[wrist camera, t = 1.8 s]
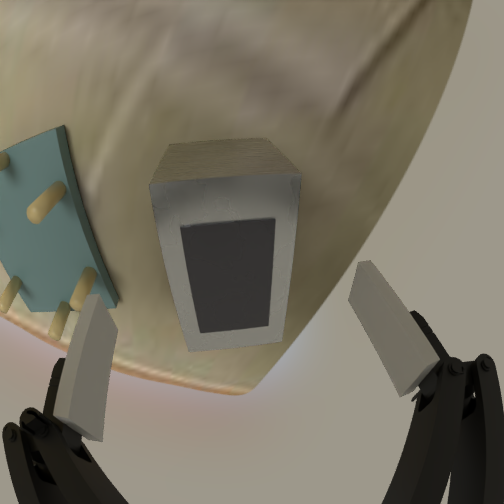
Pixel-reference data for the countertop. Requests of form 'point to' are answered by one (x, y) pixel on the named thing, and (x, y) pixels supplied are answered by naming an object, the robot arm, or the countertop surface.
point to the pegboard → (47, 232)
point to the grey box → (227, 238)
